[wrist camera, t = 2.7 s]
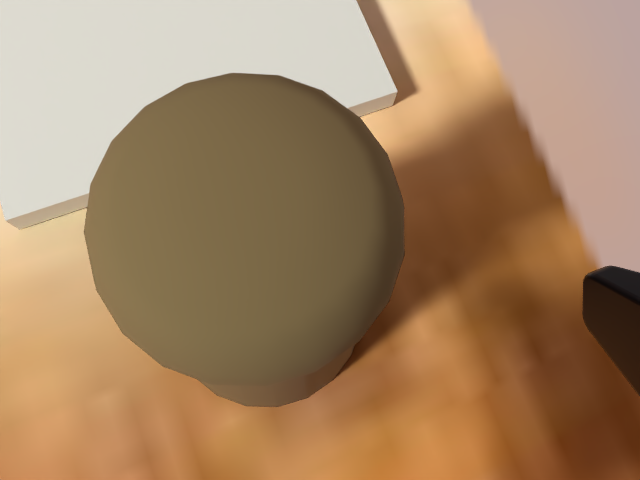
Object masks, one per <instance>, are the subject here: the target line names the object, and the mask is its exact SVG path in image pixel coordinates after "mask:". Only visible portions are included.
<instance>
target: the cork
mask: <svg viewBox="0 0 640 480" xmlns="http://www.w3.org/2000/svg"><path fill="white" fill-rule="evenodd" d="M84 235H85V240H86V244H87V249H88V254H89V259H90V264H91V269H92V273H93V278H94V283H95V286H96V290H97V292H98V294H99V295H100V297H101V299H102V300H103V302H104V304H105V305H106V307H107V308H108V310H109V312H110V313H111V315H112V317H113V318H114V320H115V322H116V323H117V325H118V327H119V328H120V330H121V332H122V333H123V334H124V335H125V336H126V337H128V338H129V339H130V340H131V341H132V342H134V343H135V344H136V345H137V346H138V347H140V348H141V349H142V350H143V351H145V352H146V353H147V354H148V355H149V356H151V357H152V358H153V359H154V360H156V361H157V362H158V363H159V364H160V365H162V366H163V367H166V368H168V369H171V370H174V371H177V372H179V373H182V374H185V375H187V376H190V377H193V378H195V379H198V380H199V381H200V382H201V383H203V384H204V385H205V386H206V387H207V388H209V389H210V390H211V391H212V392H214V393H215V394H216V395H218V396H220V397H223V398H226V399H228V400H231V401H234V402H236V403H239V404H242V405H244V406H260V407H279V406H282V405H286V404H289V403H292V402H296V401H299V400H302V399H306V398H308V397H309V396H311V395H312V394H314V393H315V392H317V391H318V390H319V389H321V388H322V387H324V386H325V385H326V384H328V383H329V382H331V381H332V380H333V379H334V378H335V376H336V375H337V374H338V372H339V371H340V370H341V368H342V367H343V366H344V364H345V363H346V362H347V360H348V359H349V358H350V356H351V354H352V351H353V348H354V345H355V344H356V343H358V342H359V341H360V340H361V338H362V337H363V336H364V334H365V333H366V332H367V330H368V329H369V328H370V326H371V325H372V324H373V322H374V321H375V320H376V318H377V317H378V316H379V314H380V313H381V311H382V310H383V309H384V307H385V306H386V305H387V303H388V302H389V300H390V297H391V294H392V291H393V288H394V285H395V282H396V279H397V276H398V273H399V270H400V267H401V264H402V261H403V258H404V204H403V199H402V195H401V192H400V190H399V187H398V184H397V181H396V178H395V175H394V172H393V169H392V166H391V163H390V160H389V157H388V154H387V153H386V152H385V150H384V149H383V148H382V146H381V145H380V144H379V142H378V141H377V140H376V138H375V137H374V136H373V134H372V133H371V132H370V130H369V129H368V128H367V126H366V125H365V124H364V122H363V121H362V120H361V118H360V117H359V116H357V115H356V114H354V113H353V112H352V111H350V110H349V109H348V108H346V107H345V106H343V105H342V104H341V103H339V102H338V101H337V100H335V99H334V98H332V97H331V96H330V95H328V94H327V93H325V92H324V91H323V90H320V89H317V88H314V87H311V86H309V85H306V84H303V83H300V82H297V81H294V80H291V79H288V78H286V77H283V76H280V75H267V74H248V73H228V74H224V75H220V76H215V77H211V78H207V79H202V80H198V81H194V82H189V83H186V84H184V85H182V86H180V87H178V88H177V89H175V90H173V91H171V92H170V93H168V94H166V95H164V96H162V97H161V98H159V99H157V100H155V101H154V102H152V103H150V104H148V105H146V106H145V107H144V108H143V109H142V110H141V111H140V112H139V113H138V114H137V115H136V116H135V117H134V118H133V119H132V120H131V121H130V122H129V123H128V124H127V125H126V126H125V127H124V128H123V130H122V131H121V132H120V133H119V134H118V135H117V136H116V137H115V138H114V139H113V140H112V141H111V143H110V145H109V147H108V149H107V151H106V153H105V155H104V157H103V159H102V161H101V163H100V165H99V167H98V169H97V172H96V174H95V176H94V178H93V180H92V182H91V184H90V190H89V198H88V205H87V213H86V220H85V228H84Z"/></svg>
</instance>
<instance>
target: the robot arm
mask: <svg viewBox="0 0 640 480" xmlns="http://www.w3.org/2000/svg"><path fill="white" fill-rule="evenodd" d="M583 319H584V322H585V324H586V326H587V328H588V330H589V331H590V332H591V334H592V335H593V336H594V338H595V339H596V340H597V342H598V343H599V344H600V345H601V347H602V348H603V349H604V351H605V352H606V353H607V355H608V356H609V357H610V358H611V360H612V361H613V362H614V364H615V365H616V366H617V368H618V369H619V370H620V371H621V373H622V374H623V375H624V377H625V378H626V379H627V381H628V382H629V383H630V385H631V386H632V387H633V388H634V390H635V391H636V392H637V394H638V395H639V396H640V273H639V272H635V271H631V270H628V269H624V268H620V267H616V266H605V267H603V268H600V269H598V270H595V271H593V272H590V273H588V274H587V275H586V276H585V278H584V280H583Z"/></svg>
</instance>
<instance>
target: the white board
mask: <svg viewBox="0 0 640 480" xmlns="http://www.w3.org/2000/svg"><path fill="white" fill-rule="evenodd" d="M228 73H248V74H267V75H280V76H283V77H286V78H288V79H291V80H294V81H297V82H300V83H303V84H306V85H309V86H311V87H314V88H317V89H320V90H323V91H324V92H325V93H327V94H328V95H330V96H331V97H332V98H334V99H335V100H337V101H338V102H339V103H341V104H342V105H343V106H345V107H346V108H348V109H349V110H350V111H352V112H353V113H354V114H356V115H357V116H359V117H360V116H363V115H366V114H369V113H372V112H375V111H378V110H381V109H384V108H387V107H390V106H393V103H394V100H395V98H396V95H397V92H398V91H397V89H396V87H395V84H394V82H393V80H392V78H391V76H390V73H389V71H388V69H387V67H386V65H385V62H384V60H383V58H382V56H381V54H380V51H379V49H378V47H377V45H376V43H375V40H374V38H373V36H372V34H371V32H370V29H369V27H368V25H367V23H366V21H365V18H364V16H363V14H362V12H361V10H360V7H359V5H358V3H357V1H356V0H0V203H1V206H2V210H3V214H4V217H5V221H7V222H8V223H10V224H11V225H13V226H15V227H16V228H18V229H19V230H20V229H23V228H26V227H29V226H32V225H35V224H38V223H41V222H44V221H47V220H50V219H53V218H56V217H59V216H62V215H65V214H68V213H71V212H74V211H77V210H80V209H83V208H86V207H87V205H88V198H89V190H90V184H91V182H92V180H93V178H94V176H95V174H96V172H97V169H98V167H99V165H100V163H101V161H102V159H103V157H104V155H105V153H106V151H107V149H108V147H109V145H110V143H111V141H112V140H113V139H114V138H115V137H116V136H117V135H118V134H119V133H120V132H121V131H122V130H123V128H124V127H125V126H126V125H127V124H128V123H129V122H130V121H131V120H132V119H133V118H134V117H135V116H136V115H137V114H138V113H139V112H140V111H141V110H142V109H143V108H144V107H145V106H146V105H148V104H150V103H152V102H154V101H155V100H157V99H159V98H161V97H162V96H164V95H166V94H168V93H170V92H171V91H173V90H175V89H177V88H178V87H180V86H182V85H184V84H186V83H189V82H194V81H198V80H202V79H207V78H211V77H215V76H220V75H224V74H228Z"/></svg>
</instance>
